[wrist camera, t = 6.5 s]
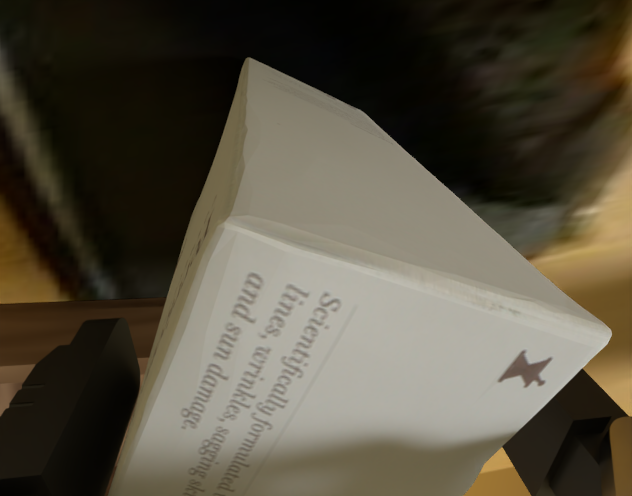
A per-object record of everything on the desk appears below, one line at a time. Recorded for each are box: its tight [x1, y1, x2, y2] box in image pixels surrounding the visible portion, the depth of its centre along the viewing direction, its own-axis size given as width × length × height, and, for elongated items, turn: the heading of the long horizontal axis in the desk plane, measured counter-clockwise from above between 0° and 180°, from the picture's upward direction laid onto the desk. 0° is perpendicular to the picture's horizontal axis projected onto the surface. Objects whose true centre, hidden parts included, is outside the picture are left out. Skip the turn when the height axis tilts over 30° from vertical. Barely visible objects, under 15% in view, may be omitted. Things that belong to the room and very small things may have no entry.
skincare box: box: [108, 58, 612, 496], centre depth 12 cm, size 8×6×15 cm
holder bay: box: [0, 298, 167, 496], centre depth 22 cm, size 14×14×4 cm
